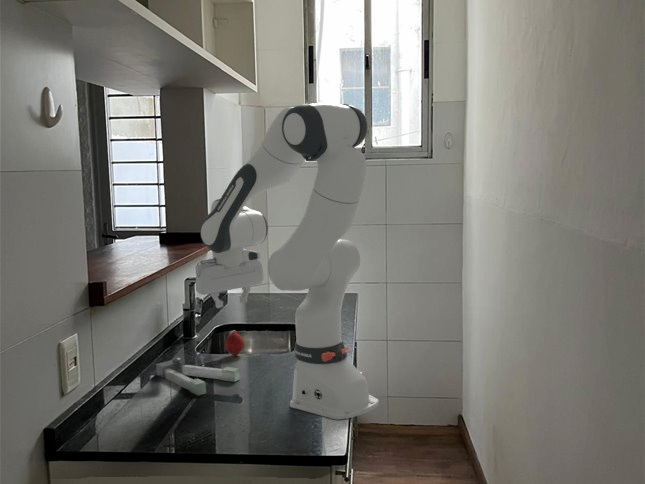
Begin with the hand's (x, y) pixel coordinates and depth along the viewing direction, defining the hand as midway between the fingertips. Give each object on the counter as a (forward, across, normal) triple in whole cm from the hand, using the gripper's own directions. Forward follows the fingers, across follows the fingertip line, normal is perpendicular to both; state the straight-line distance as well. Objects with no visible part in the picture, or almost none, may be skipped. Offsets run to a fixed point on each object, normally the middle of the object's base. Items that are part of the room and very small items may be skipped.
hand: (231, 304), depth 181 cm
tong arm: (+19, -9, +2) cm, 21 cm away
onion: (+20, +8, +13) cm, 25 cm away
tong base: (+19, -14, +3) cm, 24 cm away
